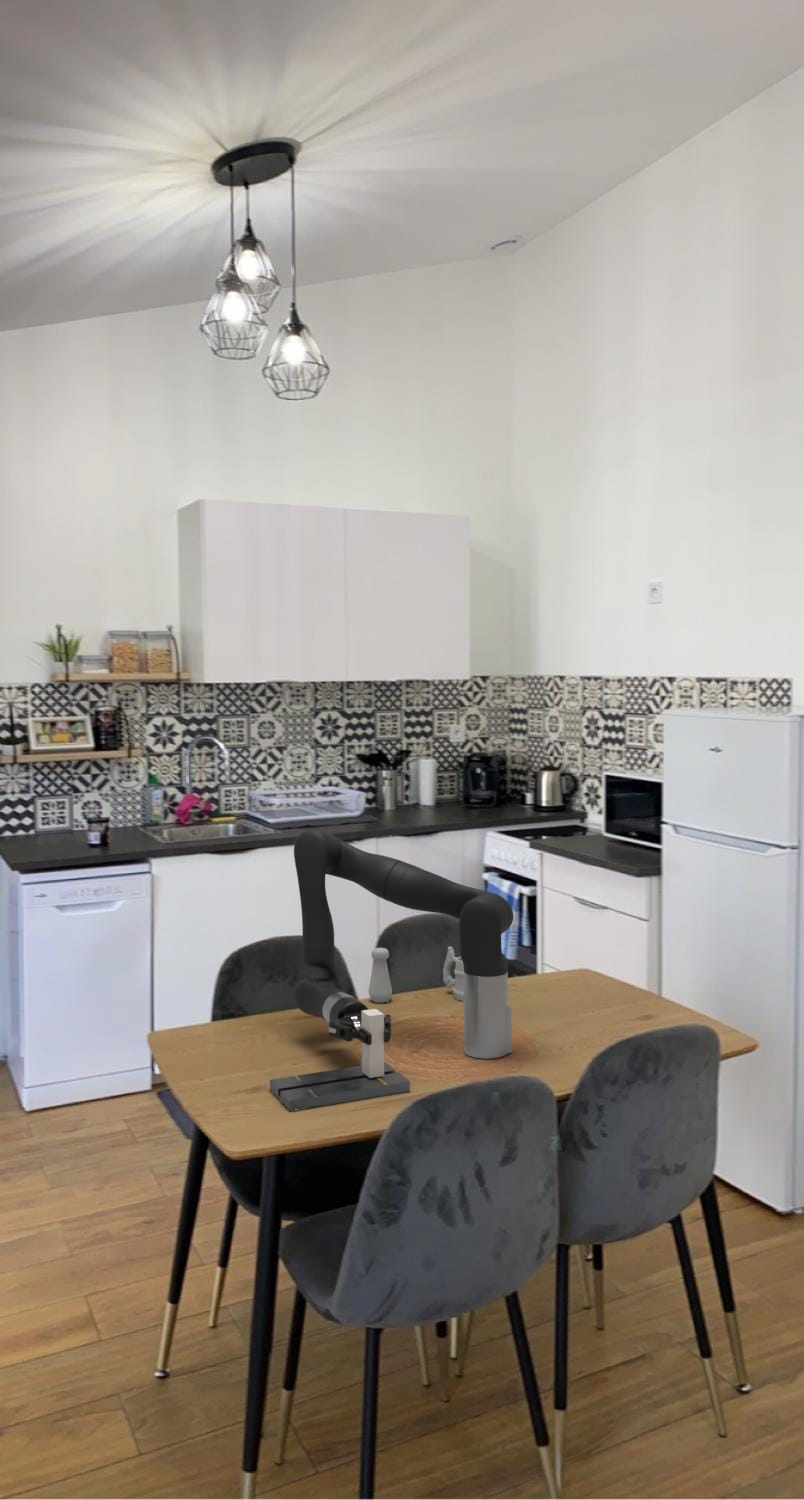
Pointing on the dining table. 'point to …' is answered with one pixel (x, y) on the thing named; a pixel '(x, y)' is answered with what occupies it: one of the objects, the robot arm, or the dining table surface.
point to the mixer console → (336, 1087)
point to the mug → (458, 974)
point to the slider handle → (373, 1043)
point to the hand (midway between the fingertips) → (378, 1038)
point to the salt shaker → (380, 977)
